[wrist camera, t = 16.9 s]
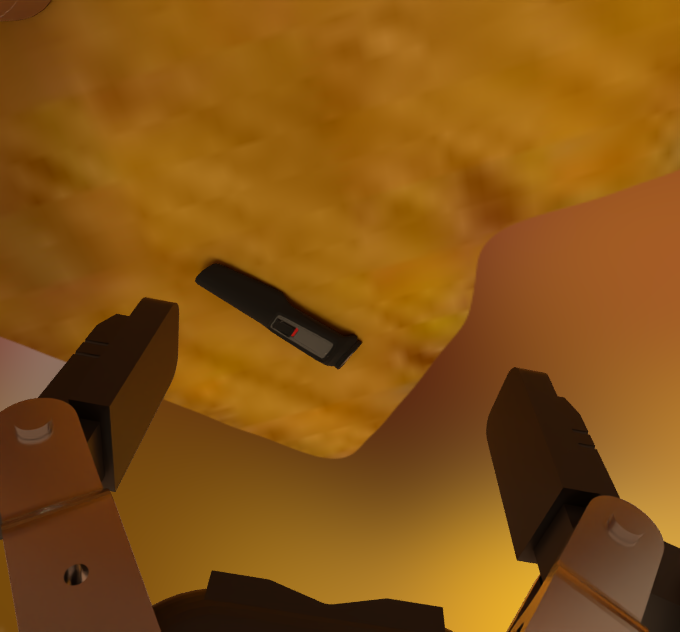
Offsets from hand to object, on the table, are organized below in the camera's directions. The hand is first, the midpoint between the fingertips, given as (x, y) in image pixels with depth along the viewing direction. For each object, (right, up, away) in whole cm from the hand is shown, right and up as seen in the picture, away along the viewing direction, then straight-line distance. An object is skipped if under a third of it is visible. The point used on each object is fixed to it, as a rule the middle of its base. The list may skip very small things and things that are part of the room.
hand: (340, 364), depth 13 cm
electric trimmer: (-5, +2, +35) cm, 35 cm away
